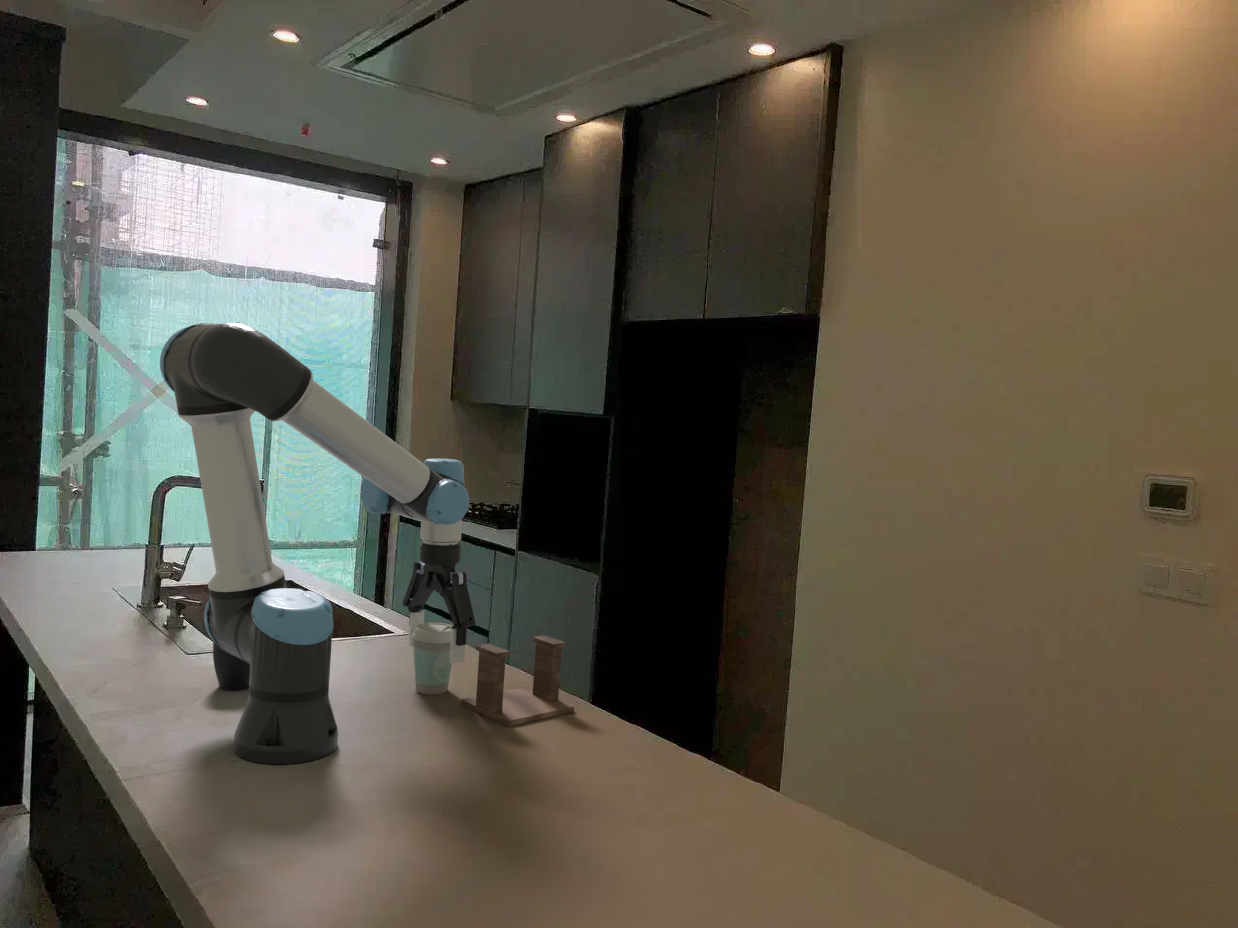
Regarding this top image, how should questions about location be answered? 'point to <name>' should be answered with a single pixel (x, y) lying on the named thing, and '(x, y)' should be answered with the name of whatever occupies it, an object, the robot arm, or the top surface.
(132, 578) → the top surface
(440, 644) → the coffee cup
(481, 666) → the wooden stand
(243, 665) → the mug
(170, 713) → the top surface
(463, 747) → the top surface
